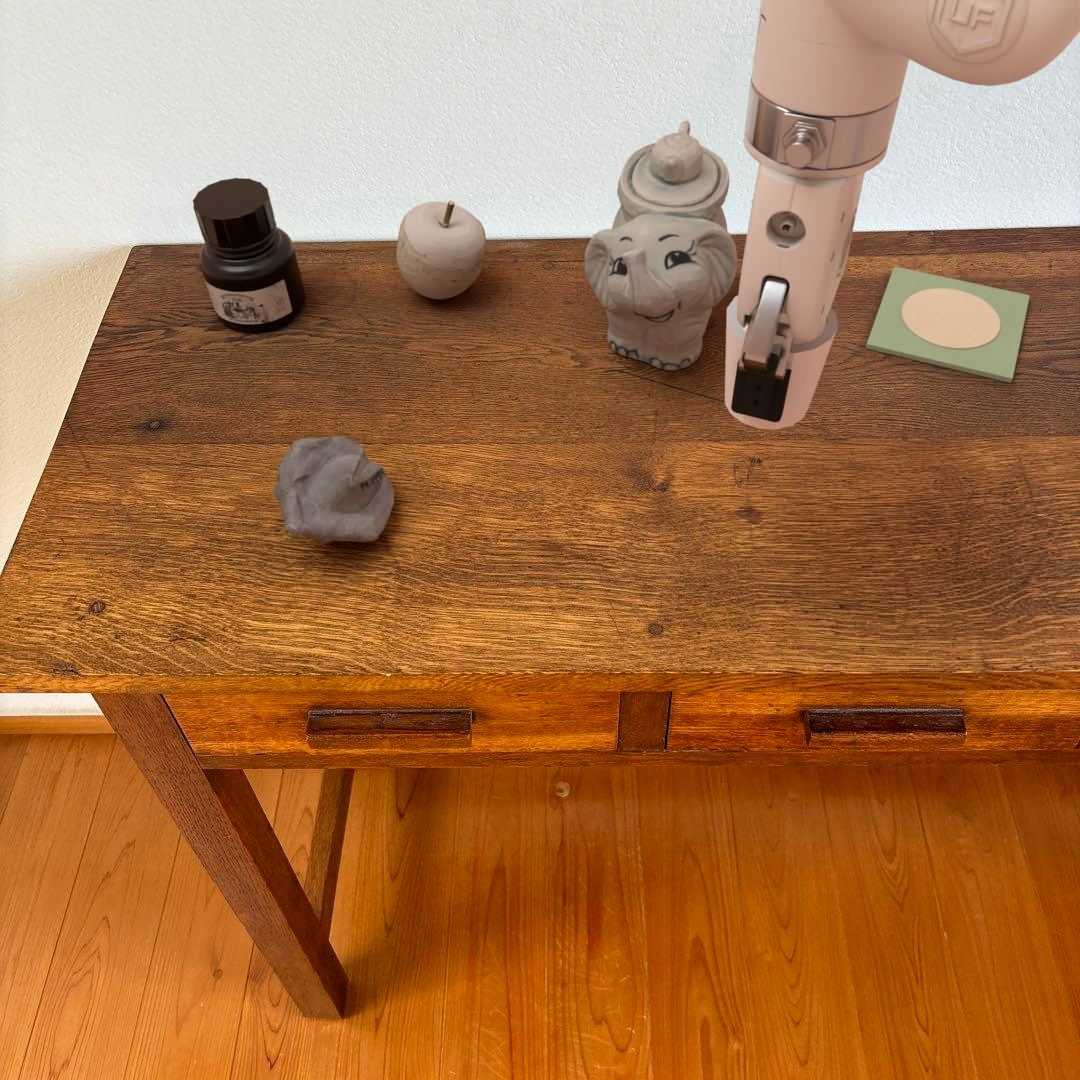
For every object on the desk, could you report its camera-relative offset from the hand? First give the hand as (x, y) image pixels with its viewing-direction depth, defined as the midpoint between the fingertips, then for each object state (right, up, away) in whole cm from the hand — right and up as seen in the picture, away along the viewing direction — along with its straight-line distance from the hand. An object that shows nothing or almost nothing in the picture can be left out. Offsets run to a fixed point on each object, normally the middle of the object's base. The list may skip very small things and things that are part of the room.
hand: (771, 375), depth 66 cm
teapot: (-4, +8, +29) cm, 31 cm away
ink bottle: (-43, +12, +34) cm, 56 cm away
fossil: (-31, -10, +16) cm, 37 cm away
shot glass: (0, -2, +2) cm, 2 cm away
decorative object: (-25, +14, +35) cm, 45 cm away
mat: (+24, +10, +30) cm, 39 cm away
